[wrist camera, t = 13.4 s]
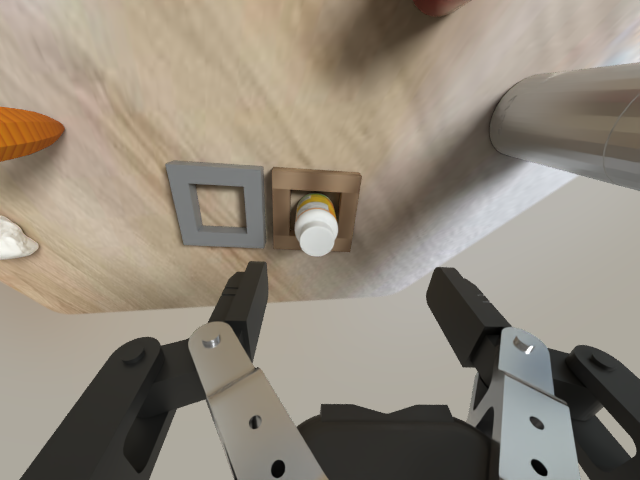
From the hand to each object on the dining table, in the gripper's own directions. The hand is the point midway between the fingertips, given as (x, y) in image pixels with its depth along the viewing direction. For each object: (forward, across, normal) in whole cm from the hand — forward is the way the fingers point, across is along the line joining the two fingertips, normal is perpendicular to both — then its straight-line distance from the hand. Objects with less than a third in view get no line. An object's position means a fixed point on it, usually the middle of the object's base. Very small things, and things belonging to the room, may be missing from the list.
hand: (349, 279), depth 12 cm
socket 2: (+24, +2, +6) cm, 25 cm away
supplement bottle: (+25, +1, +6) cm, 25 cm away
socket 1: (+24, +14, +6) cm, 29 cm away
